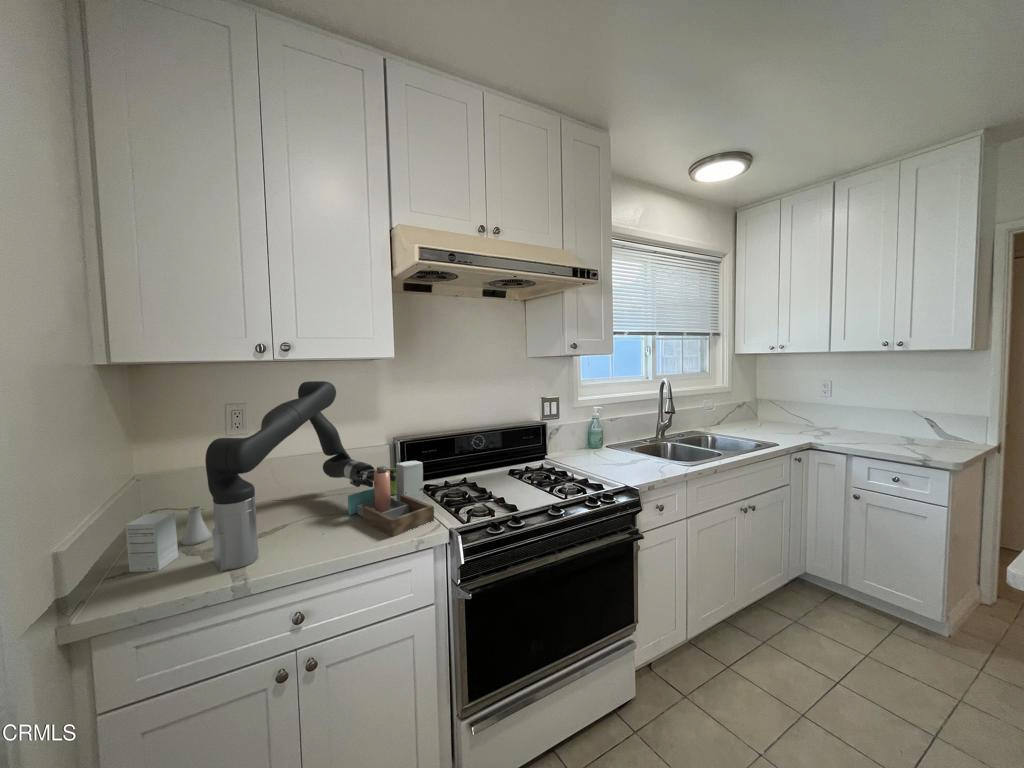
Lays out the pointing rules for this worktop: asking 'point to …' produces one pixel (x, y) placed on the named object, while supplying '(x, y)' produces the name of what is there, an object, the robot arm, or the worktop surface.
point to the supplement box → (151, 542)
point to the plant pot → (393, 483)
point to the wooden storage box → (395, 526)
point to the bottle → (382, 489)
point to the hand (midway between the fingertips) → (383, 481)
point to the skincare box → (409, 480)
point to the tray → (368, 499)
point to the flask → (195, 528)
